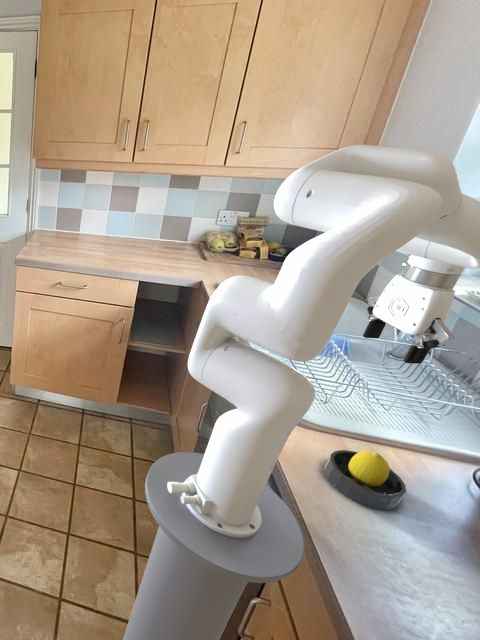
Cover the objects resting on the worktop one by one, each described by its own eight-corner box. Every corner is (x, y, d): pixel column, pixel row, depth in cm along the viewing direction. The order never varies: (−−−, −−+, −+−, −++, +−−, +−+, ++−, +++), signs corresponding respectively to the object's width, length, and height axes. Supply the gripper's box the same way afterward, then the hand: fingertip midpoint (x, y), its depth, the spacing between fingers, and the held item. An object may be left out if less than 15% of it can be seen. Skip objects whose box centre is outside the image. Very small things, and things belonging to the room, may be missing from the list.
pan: (354, 509, 78) (362, 496, 76) (310, 461, 88) (316, 448, 86) (414, 511, 77) (423, 498, 76) (363, 462, 88) (370, 450, 86)
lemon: (340, 467, 86) (356, 438, 83) (376, 481, 83) (393, 451, 80) (343, 486, 82) (360, 456, 79) (380, 500, 79) (399, 470, 76)
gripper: (371, 260, 89) (340, 328, 97) (456, 294, 74) (411, 373, 81) (406, 261, 89) (372, 329, 97) (498, 295, 74) (449, 374, 81)
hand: (390, 349), depth 89 cm, fingers open, 9 cm apart
